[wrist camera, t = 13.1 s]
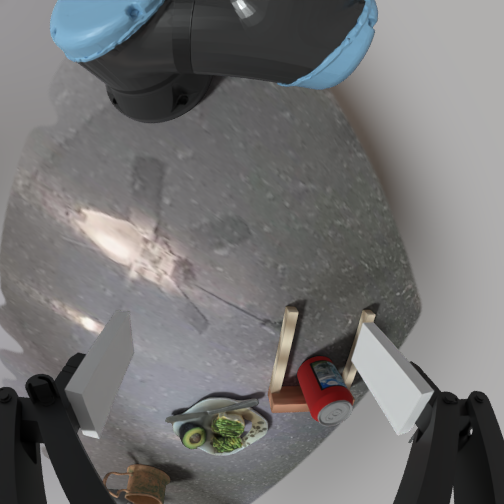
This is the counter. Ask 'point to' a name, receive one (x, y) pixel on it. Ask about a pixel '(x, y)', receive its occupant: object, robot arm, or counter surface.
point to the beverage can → (325, 391)
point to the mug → (143, 484)
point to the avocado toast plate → (219, 425)
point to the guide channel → (287, 395)
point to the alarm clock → (120, 497)
